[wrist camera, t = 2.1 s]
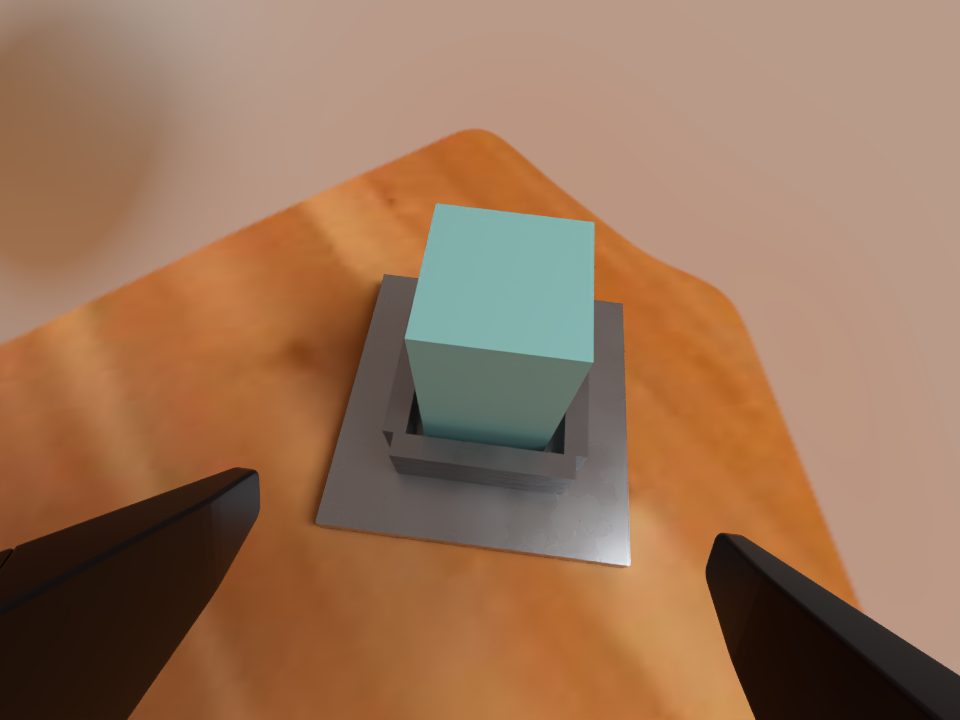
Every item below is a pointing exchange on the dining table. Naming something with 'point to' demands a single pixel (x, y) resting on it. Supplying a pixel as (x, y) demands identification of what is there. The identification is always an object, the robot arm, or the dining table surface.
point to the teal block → (501, 325)
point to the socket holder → (482, 459)
